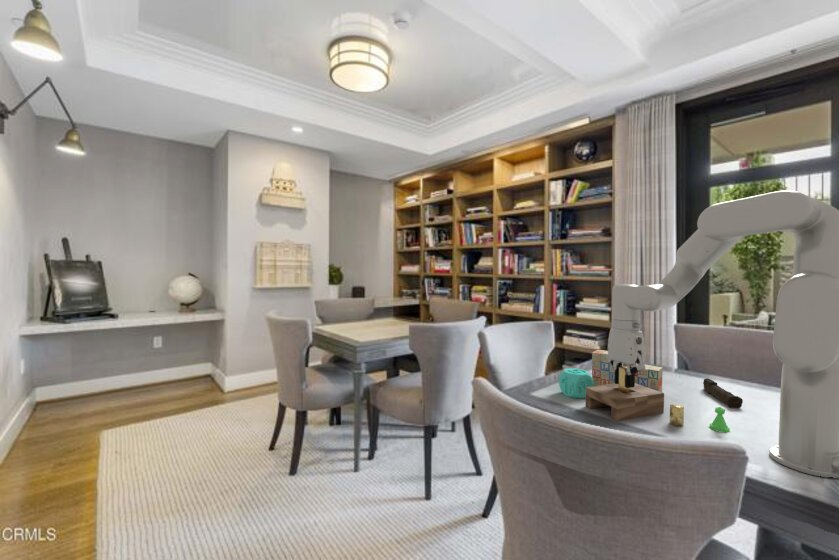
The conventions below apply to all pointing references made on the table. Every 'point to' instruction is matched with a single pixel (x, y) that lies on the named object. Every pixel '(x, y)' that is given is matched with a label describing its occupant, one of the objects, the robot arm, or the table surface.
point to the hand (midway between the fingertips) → (624, 384)
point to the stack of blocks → (606, 374)
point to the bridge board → (626, 401)
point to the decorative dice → (575, 382)
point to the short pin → (676, 415)
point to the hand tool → (722, 394)
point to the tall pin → (622, 380)
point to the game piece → (719, 421)
